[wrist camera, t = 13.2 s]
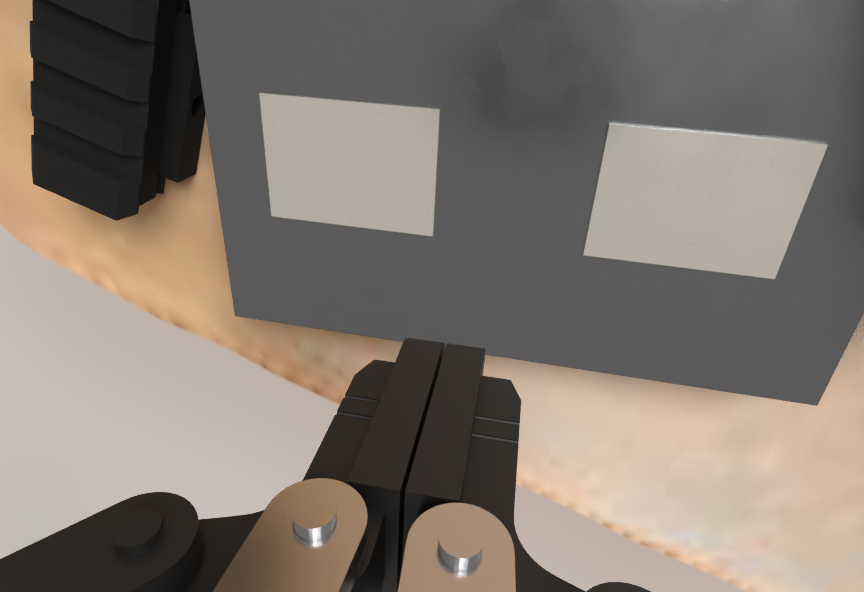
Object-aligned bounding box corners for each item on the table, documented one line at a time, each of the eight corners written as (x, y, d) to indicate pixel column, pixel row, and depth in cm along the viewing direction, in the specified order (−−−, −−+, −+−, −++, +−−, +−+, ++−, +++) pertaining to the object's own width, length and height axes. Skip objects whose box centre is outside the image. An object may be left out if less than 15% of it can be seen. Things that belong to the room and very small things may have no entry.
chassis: (271, 278, 30) (233, 317, 27) (235, -73, 23) (174, -84, 19) (876, 364, 26) (927, 425, 22) (1091, -34, 18) (1223, -39, 15)
